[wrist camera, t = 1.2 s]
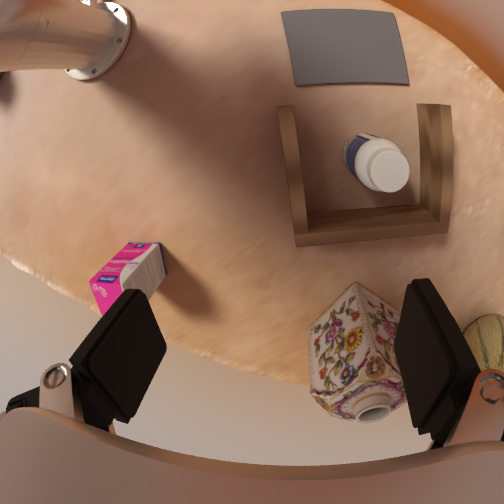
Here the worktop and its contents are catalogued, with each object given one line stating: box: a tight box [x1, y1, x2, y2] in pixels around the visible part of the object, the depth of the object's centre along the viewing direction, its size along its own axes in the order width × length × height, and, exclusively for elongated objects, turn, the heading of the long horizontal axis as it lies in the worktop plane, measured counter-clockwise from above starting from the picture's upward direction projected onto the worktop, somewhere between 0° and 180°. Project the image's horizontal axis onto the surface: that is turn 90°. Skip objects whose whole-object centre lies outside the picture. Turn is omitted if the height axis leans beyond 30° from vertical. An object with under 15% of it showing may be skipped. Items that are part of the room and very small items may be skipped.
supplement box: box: [89, 243, 167, 316], centre depth 36 cm, size 6×6×12 cm
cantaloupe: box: [463, 315, 504, 373], centre depth 34 cm, size 15×15×15 cm
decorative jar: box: [308, 283, 407, 423], centre depth 34 cm, size 12×12×18 cm
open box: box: [276, 104, 453, 247], centre depth 28 cm, size 15×19×6 cm
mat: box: [281, 9, 409, 86], centre depth 23 cm, size 10×14×1 cm
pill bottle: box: [343, 133, 410, 192], centre depth 26 cm, size 5×5×10 cm
